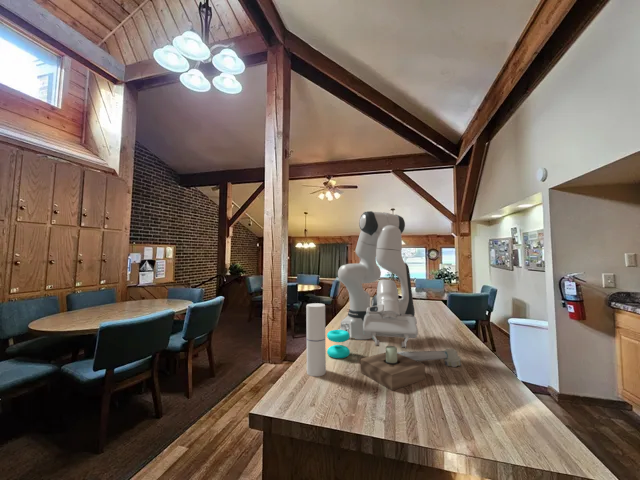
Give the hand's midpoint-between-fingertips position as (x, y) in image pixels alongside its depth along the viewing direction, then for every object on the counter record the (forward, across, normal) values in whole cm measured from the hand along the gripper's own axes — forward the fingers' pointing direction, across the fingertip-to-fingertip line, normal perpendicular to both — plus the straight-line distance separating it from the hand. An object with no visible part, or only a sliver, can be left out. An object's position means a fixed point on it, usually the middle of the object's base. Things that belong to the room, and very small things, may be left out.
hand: (390, 346), depth 100 cm
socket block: (+7, -1, -8) cm, 11 cm away
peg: (+7, 0, -8) cm, 11 cm away
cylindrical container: (+8, +27, -8) cm, 29 cm away
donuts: (-5, +21, -21) cm, 30 cm away
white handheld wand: (-2, -16, -18) cm, 24 cm away
